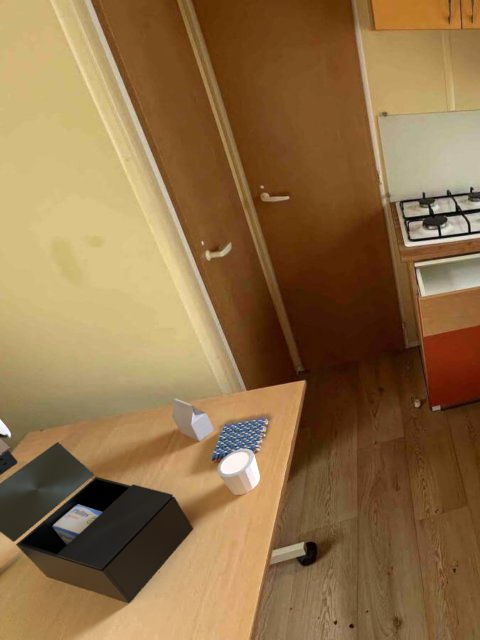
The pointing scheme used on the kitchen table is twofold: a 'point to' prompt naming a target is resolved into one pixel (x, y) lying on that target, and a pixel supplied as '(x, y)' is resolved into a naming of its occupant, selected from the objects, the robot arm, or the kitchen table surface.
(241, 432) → the woven mat
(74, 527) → the medicine box
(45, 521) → the black flap box
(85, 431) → the kitchen table surface
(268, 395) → the kitchen table surface
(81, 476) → the flap
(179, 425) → the white gable carton
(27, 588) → the kitchen table surface
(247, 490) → the white short cylinder
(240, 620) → the kitchen table surface
